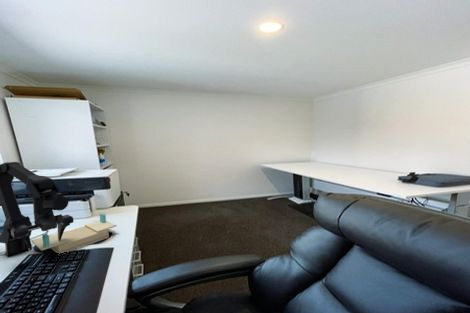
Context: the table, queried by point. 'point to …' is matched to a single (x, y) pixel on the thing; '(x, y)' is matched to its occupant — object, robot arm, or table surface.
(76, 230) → the carton
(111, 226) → the flap far
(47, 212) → the robot arm
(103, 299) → the table surface
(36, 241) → the flap near
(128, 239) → the table surface
